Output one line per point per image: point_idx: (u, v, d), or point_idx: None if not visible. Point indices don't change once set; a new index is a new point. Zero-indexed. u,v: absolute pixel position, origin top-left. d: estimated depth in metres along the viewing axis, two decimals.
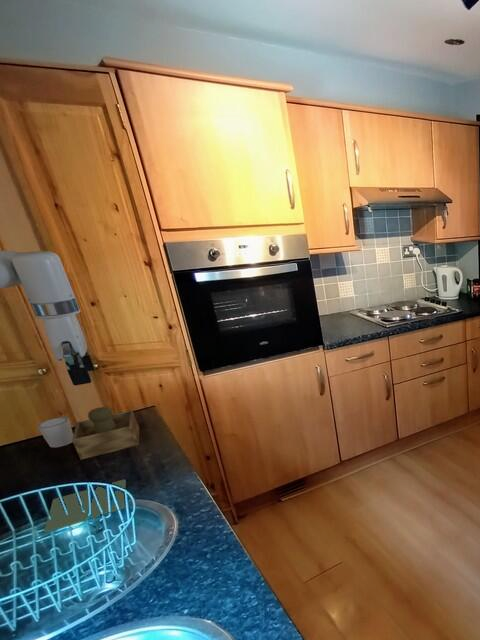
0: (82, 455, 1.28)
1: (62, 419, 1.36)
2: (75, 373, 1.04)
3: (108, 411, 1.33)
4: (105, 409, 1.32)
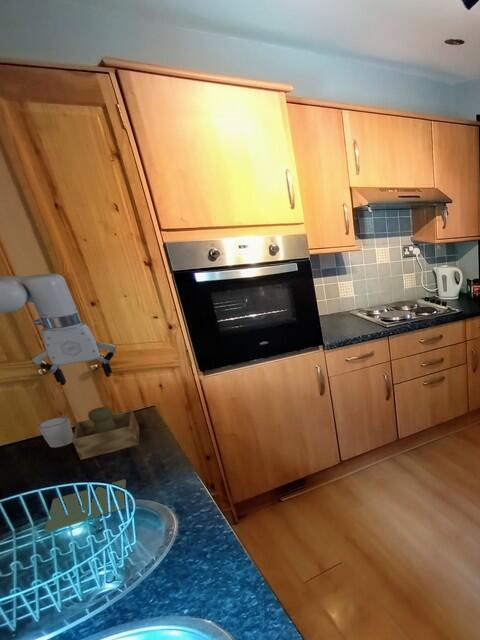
0: (82, 455, 1.28)
1: (62, 419, 1.36)
2: (109, 365, 1.30)
3: (108, 411, 1.33)
4: (105, 409, 1.32)
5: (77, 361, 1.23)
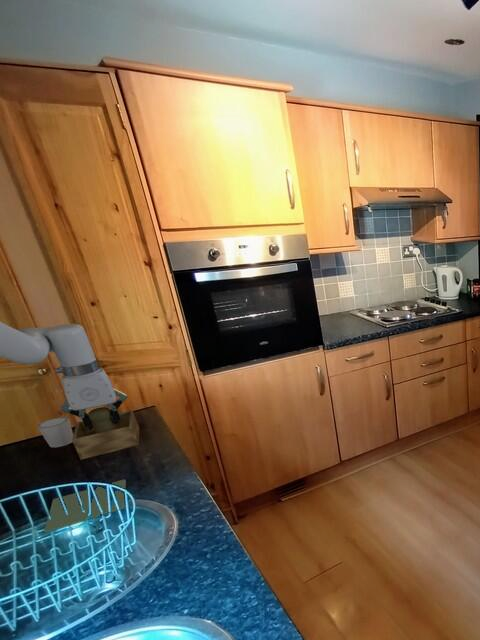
0: (82, 455, 1.28)
1: (62, 419, 1.36)
2: (117, 412, 1.35)
3: (108, 411, 1.33)
4: (105, 409, 1.32)
5: (95, 406, 1.29)
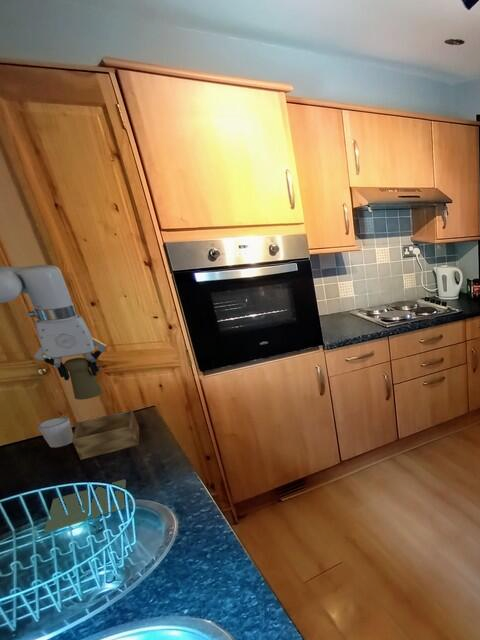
0: (82, 455, 1.28)
1: (62, 419, 1.36)
2: (96, 363, 1.27)
3: (85, 362, 1.25)
4: (82, 359, 1.25)
5: (71, 354, 1.22)
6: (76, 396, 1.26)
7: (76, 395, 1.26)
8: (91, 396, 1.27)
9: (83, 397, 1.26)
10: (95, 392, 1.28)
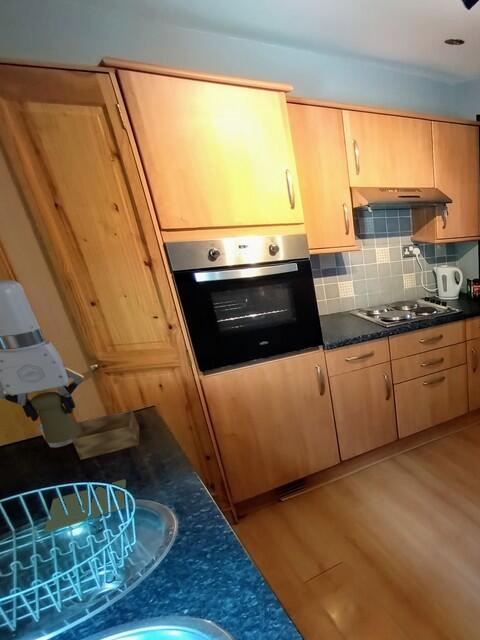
0: (82, 455, 1.28)
1: None
2: (71, 398, 1.04)
3: (58, 397, 1.02)
4: (54, 394, 1.02)
5: (39, 389, 0.99)
6: (47, 439, 1.03)
7: (47, 438, 1.03)
8: (66, 438, 1.04)
9: (56, 440, 1.03)
10: (71, 433, 1.05)
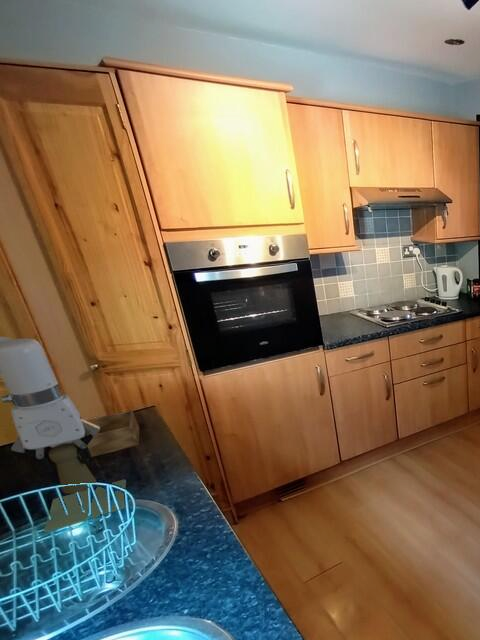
0: None
1: None
2: (87, 449, 1.06)
3: (74, 449, 1.04)
4: (71, 446, 1.04)
5: (56, 443, 1.01)
6: (64, 489, 1.05)
7: (64, 488, 1.05)
8: (82, 488, 1.06)
9: (72, 490, 1.05)
10: None
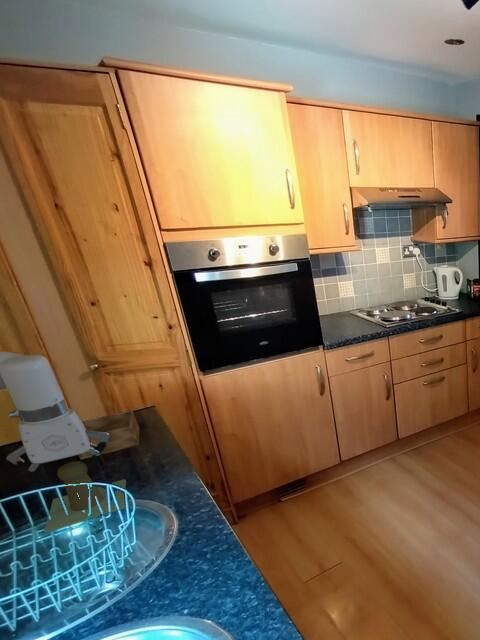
0: (82, 455, 1.28)
1: None
2: (101, 456, 1.08)
3: (82, 467, 1.06)
4: (79, 464, 1.06)
5: (62, 457, 1.02)
6: (72, 507, 1.07)
7: (72, 506, 1.07)
8: None
9: (80, 508, 1.07)
10: (94, 500, 1.09)
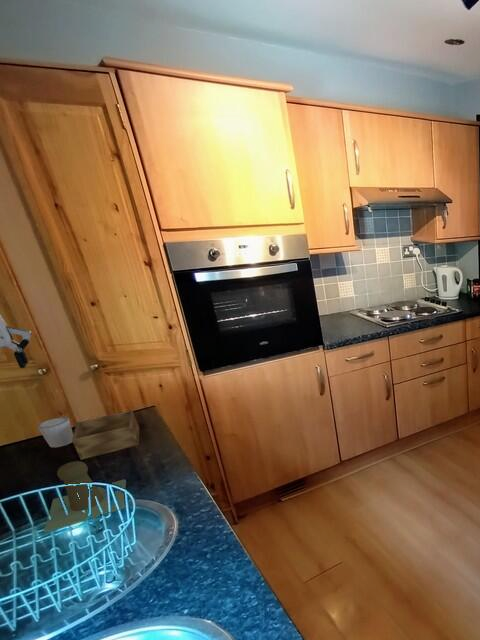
0: (82, 455, 1.28)
1: (62, 419, 1.36)
2: (23, 354, 1.11)
3: (82, 467, 1.06)
4: (79, 464, 1.06)
5: None
6: (72, 507, 1.07)
7: (72, 506, 1.07)
8: None
9: (80, 508, 1.07)
10: (94, 500, 1.09)
